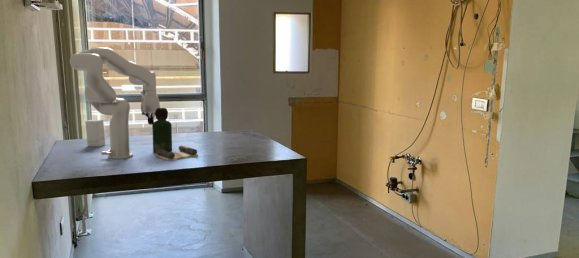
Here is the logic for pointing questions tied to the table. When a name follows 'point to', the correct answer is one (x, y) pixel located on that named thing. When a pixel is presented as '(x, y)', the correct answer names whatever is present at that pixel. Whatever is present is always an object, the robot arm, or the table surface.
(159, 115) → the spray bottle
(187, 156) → the cradle
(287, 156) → the table surface
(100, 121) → the skincare box
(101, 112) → the robot arm
